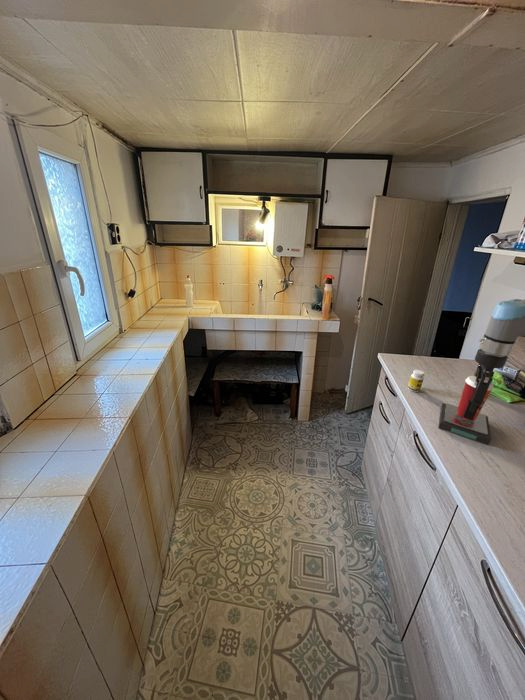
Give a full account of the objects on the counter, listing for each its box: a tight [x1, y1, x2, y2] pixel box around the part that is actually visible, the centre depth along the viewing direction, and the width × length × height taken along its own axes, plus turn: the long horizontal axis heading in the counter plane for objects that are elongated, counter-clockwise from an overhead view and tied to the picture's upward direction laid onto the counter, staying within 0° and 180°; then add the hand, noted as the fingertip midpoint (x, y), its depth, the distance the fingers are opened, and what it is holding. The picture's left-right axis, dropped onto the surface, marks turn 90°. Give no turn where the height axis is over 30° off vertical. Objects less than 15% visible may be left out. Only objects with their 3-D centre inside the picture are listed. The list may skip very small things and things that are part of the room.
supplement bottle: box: [407, 369, 425, 393], centre depth 117 cm, size 5×5×8 cm
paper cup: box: [457, 375, 495, 421], centre depth 94 cm, size 8×8×14 cm
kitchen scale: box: [437, 402, 492, 446], centre depth 97 cm, size 14×14×3 cm
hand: (467, 412), depth 96 cm, fingers closed on paper cup, 7 cm apart
